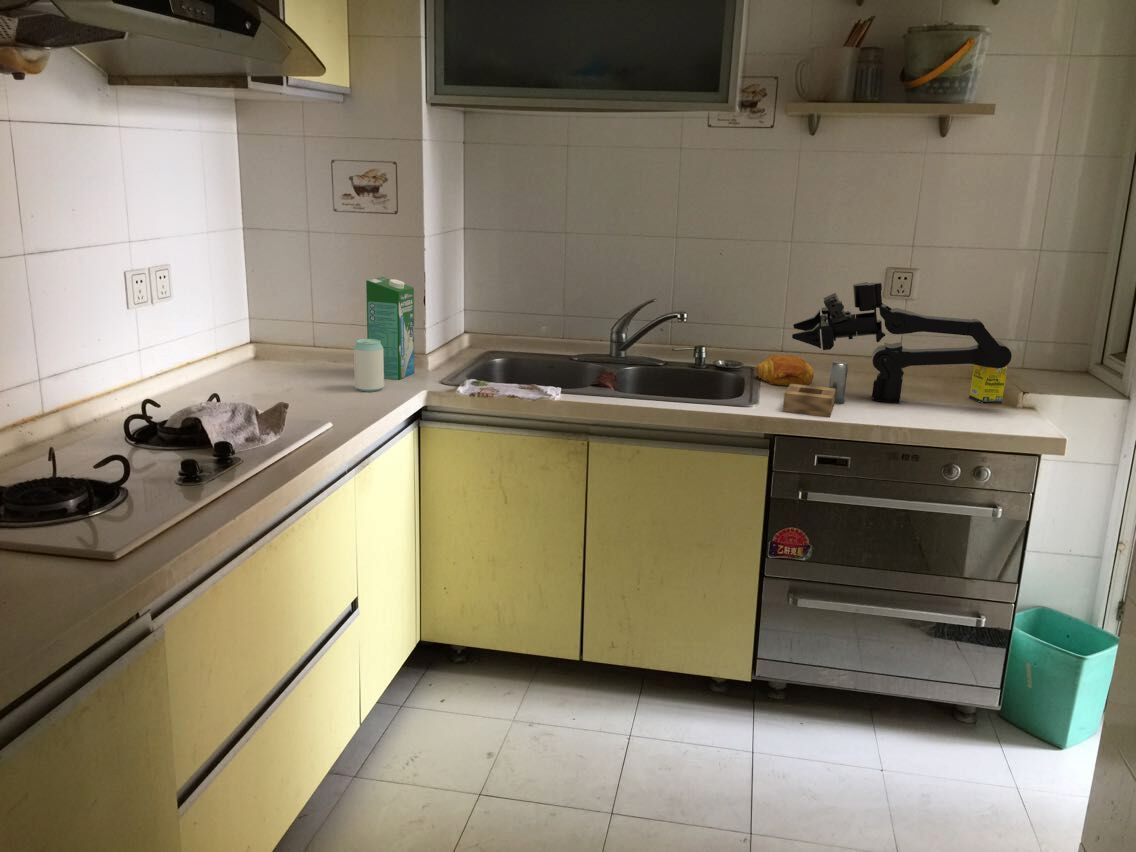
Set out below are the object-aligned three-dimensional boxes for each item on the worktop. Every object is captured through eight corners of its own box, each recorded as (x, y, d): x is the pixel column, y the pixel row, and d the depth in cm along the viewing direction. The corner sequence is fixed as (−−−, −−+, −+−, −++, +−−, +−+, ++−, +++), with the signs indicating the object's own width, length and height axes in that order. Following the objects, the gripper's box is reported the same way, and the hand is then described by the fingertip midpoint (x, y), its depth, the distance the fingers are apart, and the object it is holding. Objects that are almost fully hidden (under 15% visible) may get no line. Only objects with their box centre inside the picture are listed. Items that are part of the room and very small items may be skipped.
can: (379, 393, 232) (379, 344, 229) (351, 391, 232) (350, 342, 229) (387, 386, 239) (386, 338, 235) (359, 384, 239) (358, 337, 236)
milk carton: (399, 380, 246) (398, 282, 239) (367, 376, 248) (365, 279, 241) (414, 372, 254) (414, 278, 247) (383, 369, 256) (382, 276, 249)
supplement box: (981, 403, 245) (987, 361, 242) (968, 397, 250) (974, 356, 247) (1002, 403, 246) (1009, 361, 243) (989, 397, 251) (995, 356, 248)
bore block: (833, 406, 236) (835, 388, 235) (829, 417, 226) (832, 398, 225) (788, 401, 239) (790, 383, 238) (782, 411, 229) (784, 393, 228)
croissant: (756, 381, 270) (754, 353, 268) (813, 377, 267) (812, 349, 265) (758, 391, 256) (756, 362, 254) (818, 388, 253) (816, 358, 251)
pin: (844, 401, 241) (849, 362, 239) (843, 404, 238) (847, 365, 235) (828, 399, 243) (832, 360, 240) (826, 402, 239) (831, 363, 236)
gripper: (852, 285, 248) (791, 291, 252) (854, 303, 231) (788, 310, 236) (855, 326, 251) (795, 332, 256) (857, 347, 235) (792, 353, 239)
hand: (792, 331), depth 247 cm, fingers open, 9 cm apart
